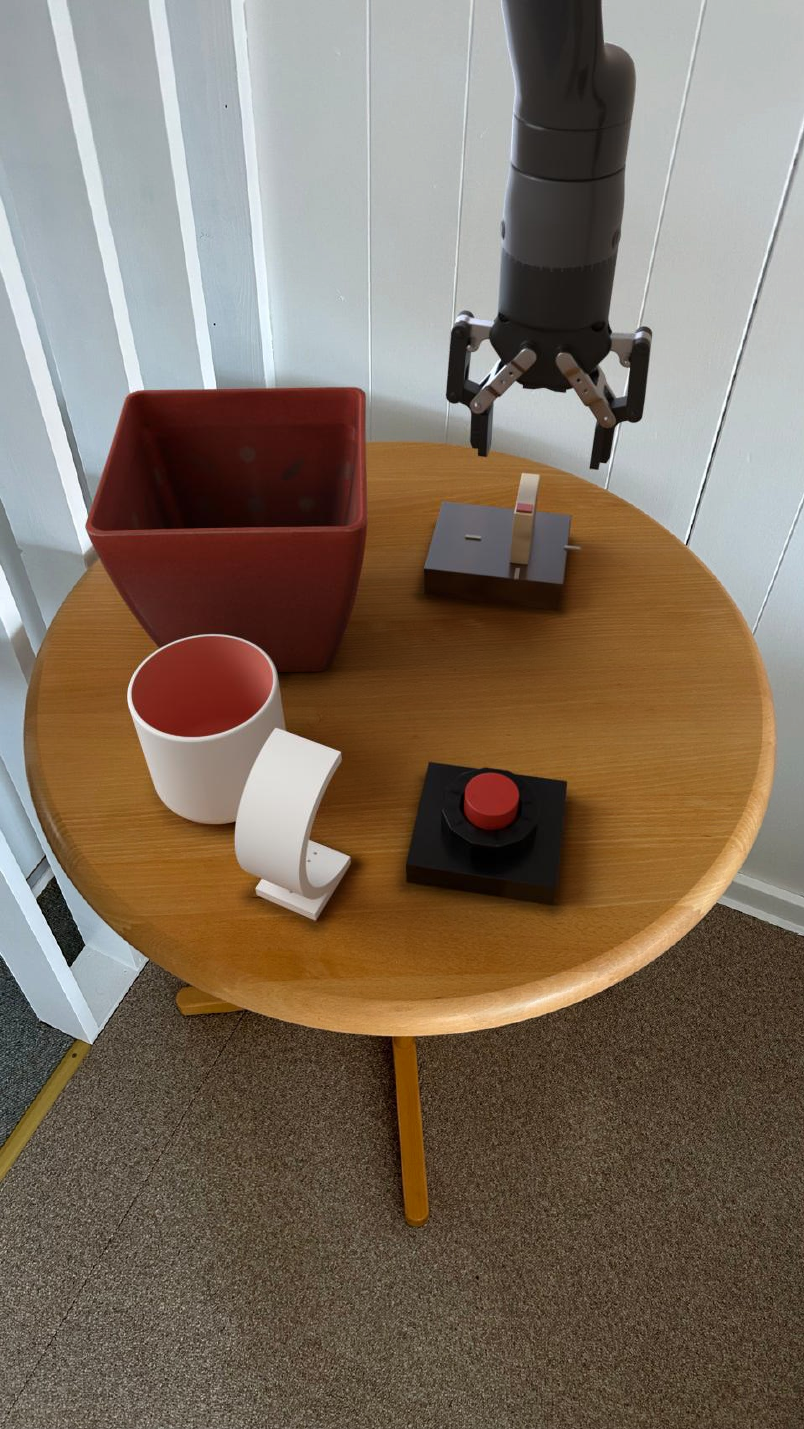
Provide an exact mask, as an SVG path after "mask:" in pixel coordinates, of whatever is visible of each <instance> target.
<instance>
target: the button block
mask: <svg viewBox="0 0 804 1429" xmlns="http://www.w3.org/2000/svg"><path fill="white" fill-rule="evenodd" d="M484 773H497V774H501V775H504V776H506V777H508V778H509V779H511V780H512V781H513V782H514V783H515V785H516V786H517V788H518V791H519V803H518V810H517V815H516V818H515V819H514V821H513V822H512V823H511V824H510V825H508V826H507V827H505V828H503V829H500V830H484V829H481V828H479V827H477V826H475V825H473V824H472V823H471V822H470V821H469V820H468V818H467V817H466V815H465V812H464V799H465V789H466V786H467V784H468V783H469V782H470V781H471V780H472V779H473V778H474V777H476V776H478V775H480V774H484ZM567 790H568V781H567V780H561V779H554V778H547V777H540V776H533V775H526V774H519V773H514V772H512V771H510V770H507V769H500V768H495V767H494V768H493V767H488V766H487V767H486V766H485V767H480V768H478V767H477V768H476V767H470V766H463V765H455V764H449V763H441V762H436V761H435V762H434V761H428V763H427V768H426V772H425V777H424V782H423V786H422V791H421V795H420V798H419V804H418V808H417V813H416V818H415V822H414V826H413V831H412V834H411V839H410V844H409V849H408V853H407V857H406V863H405V882H406V883H409V884H415V885H422V886H427V887H433V888H434V887H435V888H440V889H448V890H453V891H459V892H466V893H472V894H477V895H484V896H489V897H490V896H491V897H497V898H504V899H510V900H514V901H515V900H516V901H522V902H529V903H534V904H541V905H548V906H555V905H554V904H555V901H556V894H557V891H558V880H559V872H560V871H559V870H560V860H561V851H562V841H563V831H564V830H563V829H564V820H565V811H566V810H565V809H566V799H567Z"/></svg>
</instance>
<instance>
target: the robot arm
mask: <svg viewBox="0 0 804 1429" xmlns="http://www.w3.org/2000/svg"><path fill="white" fill-rule="evenodd" d="M500 5H501V12H502V17H503V23H504V25H503V26H504V30H505V39H506V45H507V50H508V55H509V60H510V65H511V71H512V75H513V82H514V98H513V99H514V100H513V109H512V122H511V123H512V124H511V139H510V140H511V143H510V144H511V145H510V161H509V169H508V176H507V180H506V181H507V182H506V187H505V192H504V200H503V212H502V219H501V221H500V238H501V248H500V263H499V264H500V266H499V284H498V285H499V286H498V302H497V303H498V304H497V314H496V317H495V318H494V320H488V319H482V318H476V317H475V315H474V314H473V313H472V312H471V311H470V310H467V309H464V310H462V311H460V312H459V313H458V315H457V317H456V319H455V321H454V324H453V326H452V329H451V331H450V339H449V350H448V352H449V353H448V365H447V376H446V388H445V398H446V400H447V402H449V403H450V404H452V405H456V404H461V405H464V406H466V407H467V408H468V410H469V411H470V431H469V432H470V434H469V435H470V436H469V443H470V446H471V448H472V449H475V450H477V457H481V458H487V457H488V456H489V453H490V450H491V446H492V440H493V423H494V422H493V421H494V405H495V404H494V402H495V401H496V400H497V399H498V398H501V397H502V396H503V395H504V394H505V393H506V392H507V390H508V389H509V388H511V387H512V385H513V384H514V383H515V382H516V383H517V384H520V386H522V389H523V390H524V389H525V390H539V389H546V390H549V391H552V392H555V393H560V394H561V393H562V394H566V393H567V391H569V390H572V389H573V390H574V392H575V393H576V395H577V397H578V398H579V399H580V401H581V402H582V404H583V405H584V406H585V407H587V408H588V409H589V410H590V412H591V413H592V415H593V416H594V418H595V419H596V421H595V422H596V423H595V427H594V434H593V439H592V440H593V441H592V448H591V455H590V462H589V470H595V471H599V469H600V465H601V464H608V462H609V460H610V459H611V454H612V450H613V445H614V444H613V442H614V438H615V431H616V427H617V426H618V425H619V424H621V423H624V422H628V423H631V424H637V423H638V422H641V420H642V419H643V415H644V410H645V404H646V393H647V385H648V376H649V368H650V358H651V351H652V350H651V349H652V343H653V342H652V340H653V331H652V329H651V328H650V327H648V326H647V325H645V326H644V325H642V326H640V327H637V328H636V330H635V331H634V332H616V331H614V332H613V330H612V328H611V326H610V321H609V318H610V317H609V316H610V310H611V302H612V296H613V289H614V281H615V275H616V268H617V259H618V252H619V245H620V241H621V237H622V226H623V217H624V211H625V210H624V209H625V198H626V197H625V195H626V190H625V189H626V185H625V184H626V169H627V168H626V166H627V165H626V163H627V157H628V151H629V142H630V136H631V128H632V123H633V122H632V120H633V116H634V115H633V114H634V108H635V101H636V100H635V99H636V90H637V89H636V88H637V71H636V64H635V63H634V59H633V58H632V56H631V54H630V53H629V52H628V51H627V50H626V49H625V48H623V47H622V46H620V45H618V44H616V43H614V42H610V41H607V40H605V34H604V24H603V23H604V22H603V0H500ZM485 340H489V343H490V345H491V347H492V349H493V350H494V351H495V353H496V354H497V356H498V358H499V359H498V360H497V361H496V363H495V364H494V366H493V367H492V368H491V369H490V371H489V372H488V373H487V374H486V375H485V377H484V378H482V379H481V381H480V382H479V383H477V382H475V381H473V380H471V379H469V378H470V368H471V360H472V358H471V357H472V353H475V352H477V351H478V350H479V349H480V346H481V344H482V343H483V341H485ZM610 352H613V353H615V354H616V355H617V356H618V360H619V364H620V365H621V366H622V367H623V368H625V369H626V368H627V369H629V375H628V382H627V383H628V384H627V393H626V394H627V395H624V396H620V397H617V396H616V394H615V393H614V391H613V390H612V388H611V386H610V385H609V383H608V382H607V377H606V374H605V373H604V370H603V369H602V368H601V366H600V364H601V363H602V362H603V360H605V358H607V357H608V355H610Z"/></svg>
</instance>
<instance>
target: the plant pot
mask: <svg viewBox="0 0 804 1429" xmlns="http://www.w3.org/2000/svg"><path fill="white" fill-rule="evenodd" d="M123 401H124V402H123V404H122V408H121V412H120V415H119V417H118V422H117V425H116V429H115V432H114V435H113V438H112V442H111V445H110V448H109V451H108V454H107V457H106V462H105V463H104V464H105V465H104V467H103V470H102V472H101V476H100V479H99V483H98V485H97V489H96V492H95V494H94V497H93V501H92V503H91V507H90V510H89V511H88V515H87V518H86V521H85V524H84V528H85V532H86V534H87V535H88V538H89V541H90V542H91V544H92V547H93V548H94V551H95V553H96V555H97V556H98V558H99V560H100V562H101V564H102V566H103V568H104V570H105V571H106V573H107V575H108V577H109V578H110V581H111V582H112V584H113V586H114V587H115V588H116V591H117V592H118V594H119V595H120V597H121V598H122V600H123V602H124V603H125V605H126V606H127V608H128V609H129V611H130V612H131V614H132V615H133V617H134V618H135V619H136V620H137V622H138V624H139V625H140V626H141V627H142V629H143V631H144V632H145V633H146V634H147V635H148V637H149V638H150V639H151V640H152V642H153V643H154V644H155V645H156V646H157V648H158V649H160V648H162V647H164V646H166V645H168V644H170V643H172V642H175V641H177V640H180V639H183V638H187V637H191V636H197V635H205V634H221V635H229V636H234V637H238V638H241V639H244V640H247V641H249V642H251V643H253V644H255V645H256V646H258V647H259V648H261V649H262V650H263V651H264V652H265V653H266V654H267V655H268V656H269V657H270V658H271V660H272V662H273V663H274V665H275V668H276V671H277V673H290V672H291V673H298V672H299V673H300V672H323V671H327V670H329V669H330V668H331V667H332V666H333V665H334V663H335V660H336V659H337V656H338V653H339V651H340V648H341V646H342V643H343V641H344V638H345V635H346V633H347V629H348V627H349V623H350V620H351V617H352V613H353V609H354V607H355V602H356V598H357V593H358V589H359V586H360V585H359V584H360V580H361V574H362V570H363V565H364V564H363V563H364V558H365V551H366V543H367V533H368V532H367V531H368V482H367V479H368V477H367V437H366V436H367V435H366V434H367V432H366V430H367V429H366V422H367V421H366V418H367V394H366V392H365V391H364V390H363V389H362V388H360V387H356V386H323V387H322V386H321V387H319V386H318V387H316V386H315V387H311V386H310V387H259V388H258V387H257V388H255V387H254V388H251V387H250V388H204V389H203V388H201V389H200V388H198V389H190V388H189V389H141V390H140V389H139V390H136V391H135V390H134V391H133V392H131V393H129V394H127V396H126V397H125V398H124V400H123Z"/></svg>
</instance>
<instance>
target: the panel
mask: <svg viewBox="0 0 804 1429" xmlns="http://www.w3.org/2000/svg"><path fill="white" fill-rule="evenodd" d="M514 511H515V508H509V507H501V506H490V505H481V504H471V503H462V502H452V501H442V502H441V506H440V509H439V513H438V516H437V520H436V524H435V526H434V530H433V534H432V537H431V540H430V545H429V548H428V552H427V556H426V560H425V564H424V567H423V595H424V596H432V597H441V598H447V599H448V598H449V599H457V600H458V599H459V600H466V601H473V602H481V603H482V602H483V603H492V604H500V605H508V606H517V607H524V608H533V609H540V610H541V609H542V610H552V611H560V609H561V603H562V595H563V588H564V582H565V573H566V566H567V565H566V564H567V557H568V550H570V551H579V552H580V551H581V548H582V547H581V546H575V545H569V541H570V533H571V524H572V517H573V516H572V514H568V513H557V512H547V511H537V510H536V518H535V526H534V532H533V537H532V543H531V549H530V555H529V561H528V564H519V563H510V551H511V540H512V530H513V519H514Z"/></svg>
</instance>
